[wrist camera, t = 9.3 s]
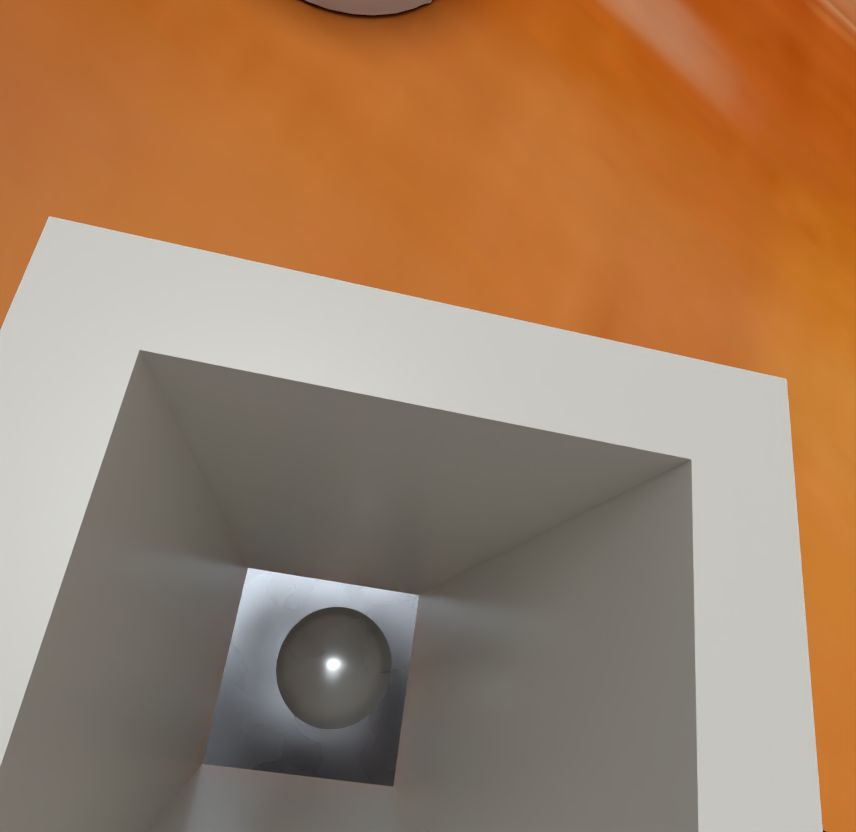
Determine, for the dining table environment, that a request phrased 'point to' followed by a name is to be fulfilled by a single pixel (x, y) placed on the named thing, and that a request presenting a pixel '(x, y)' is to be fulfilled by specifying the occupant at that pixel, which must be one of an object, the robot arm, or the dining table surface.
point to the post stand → (314, 680)
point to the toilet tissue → (370, 6)
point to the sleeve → (389, 553)
